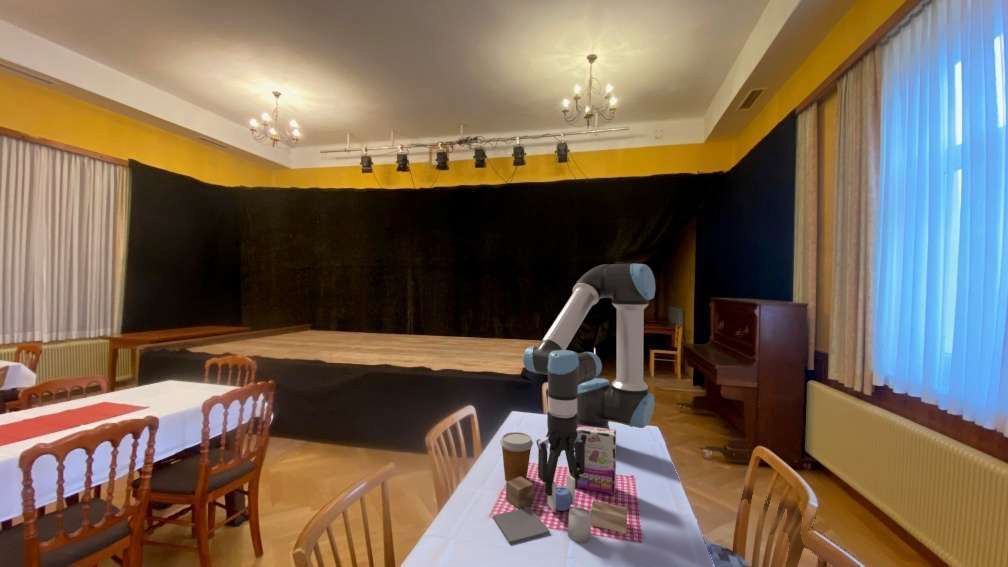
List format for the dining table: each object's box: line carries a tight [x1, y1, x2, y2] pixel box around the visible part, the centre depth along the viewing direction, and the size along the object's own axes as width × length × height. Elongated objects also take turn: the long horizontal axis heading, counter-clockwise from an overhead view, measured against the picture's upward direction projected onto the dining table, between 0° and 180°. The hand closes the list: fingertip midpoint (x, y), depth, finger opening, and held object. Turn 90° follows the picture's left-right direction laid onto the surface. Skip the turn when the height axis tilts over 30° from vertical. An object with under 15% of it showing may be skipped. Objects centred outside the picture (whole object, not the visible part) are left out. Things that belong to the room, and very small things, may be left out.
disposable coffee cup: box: [499, 431, 534, 482], centre depth 110 cm, size 10×10×12 cm
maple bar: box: [590, 500, 628, 535], centre depth 90 cm, size 4×8×4 cm, turn 69°
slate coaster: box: [492, 506, 551, 545], centre depth 89 cm, size 10×10×1 cm
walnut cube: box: [505, 476, 534, 510], centre depth 99 cm, size 5×5×5 cm
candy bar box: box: [575, 425, 617, 496], centre depth 107 cm, size 11×5×16 cm, turn 70°
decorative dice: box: [556, 485, 572, 512], centre depth 96 cm, size 4×4×4 cm
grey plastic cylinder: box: [567, 507, 592, 544], centre depth 86 cm, size 5×5×5 cm
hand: (561, 504), depth 96 cm, fingers closed on decorative dice, 5 cm apart
